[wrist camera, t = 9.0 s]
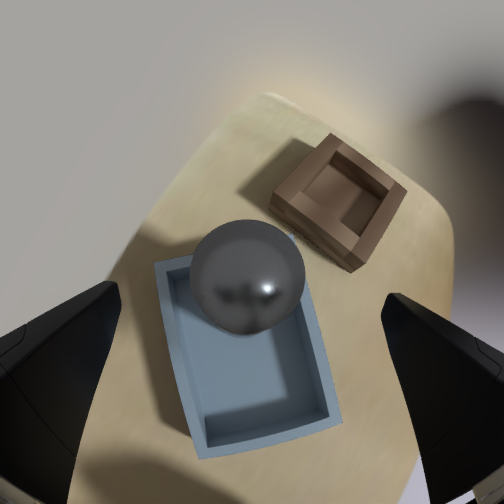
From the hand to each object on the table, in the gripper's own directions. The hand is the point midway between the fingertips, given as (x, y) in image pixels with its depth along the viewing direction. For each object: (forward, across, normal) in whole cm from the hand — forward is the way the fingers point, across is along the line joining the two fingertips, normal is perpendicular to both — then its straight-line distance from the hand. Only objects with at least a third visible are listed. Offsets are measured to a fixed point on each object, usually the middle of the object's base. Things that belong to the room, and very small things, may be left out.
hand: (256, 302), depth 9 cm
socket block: (+17, -8, +2) cm, 19 cm away
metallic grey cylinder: (+10, 0, +8) cm, 13 cm away
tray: (+8, 0, +11) cm, 14 cm away
